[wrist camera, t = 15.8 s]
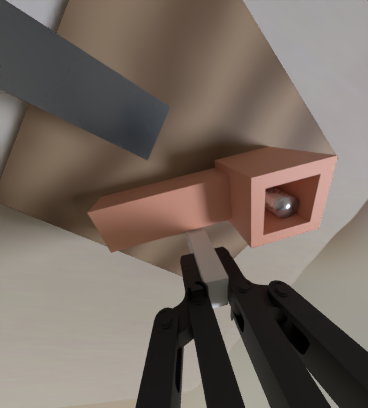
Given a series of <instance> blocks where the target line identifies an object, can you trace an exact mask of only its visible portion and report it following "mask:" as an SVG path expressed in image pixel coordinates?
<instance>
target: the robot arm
mask: <svg viewBox="0 0 368 408" xmlns="http://www.w3.org/2000/svg"><path fill="white" fill-rule="evenodd" d="M186 234H187V241H188V246H189V250H190V253H191V254H187V255H182V256H181V259H180V265H181V270H182V276H183V281H184V287H185V297H184V299H183V301H182V302H181V303H180V304H179V305H178V306H176V307H174V308H173V309H172V308H164V309H162V310H161V311H159V312H158V314H157V315H156V317H155V320H154V324H153V329H152V333H151V338H150V343H149V347H148V352H147V357H146V361H145V366H144V371H143V375H142V380H141V385H140V389H139V394H138V399H137V403H136V408H180V407H181V406H180V405H181V389H182V370H183V352H184V346H185V345H186V344H187V343H189V342H190V341H191V340H192V339H194V341H195V346H196V352H197V357H198V362H199V368H200V373H201V379H202V384H203V389H204V394H205V400H206V405H207V408H245V406H244V403H243V399H242V396H241V393H240V390H239V387H238V384H237V381H236V378H235V375H234V372H233V369H232V366H231V362H230V360H229V356H228V353H227V350H226V347H225V344H224V341H223V338H222V335H221V332H220V329H219V326H218V323H217V319H216V316H215V313H214V310H213V308H216V307H220V306H224V305H227V304H228V301H229V304H230V306H231V321H232V320H233V318H234V321H235V323H236V325H237V328H238V330H239V333H240V335H241V337H242V340H243V342H244V345H245V347H246V350H247V352H248V354H249V357H250V359H251V361H252V364H253V366H254V369H255V371H256V374H257V376H258V378H259V381H260V383H261V386H262V388H263V390H264V393H265V395H266V397H267V400H268V402H269V405H270V407H271V408H331V406H330V405H329V403H328V402H327V400H326V399H325V397H324V395H323V394H322V392H321V391H320V389H319V388H318V386H317V384H316V383H315V381H314V380H313V378H312V377H311V375H310V373H311V374H312V375H313V376H314V378H315V379H316V380H317V381H318V382H319V384H320V385H321V386H322V387H323V389H324V390H325V391H326V392H327V393H328V394H329V396H330V397H331V398H332V399H333V400H334V402H335V403H336V404H337V405H338V406H339V408H368V352H367V351H366V350H365V349H363V348H362V347H361V346H360V345H359V344H358V343H357V342H355V341H354V340H353V339H352V338H350V337H349V336H348V335H347V334H346V333H345V332H344V331H342V330H341V329H340V328H339V327H338V326H336V325H335V324H334V323H333V322H331V321H330V320H329V319H328V318H327V317H326V316H325V315H323V314H322V313H321V312H320V311H319V310H317V309H316V308H315V307H314V306H313V305H311V304H310V303H309V302H308V301H307V300H306V299H304V298H303V297H302V296H301V295H300V294H298V293H297V292H296V291H295V290H294V289H292V288H291V287H290V286H289V285H287V284H286V283H284V282H282V281H276V280H275V281H271V282H270V283H269V285H258V284H254V283H251V282H250V281H249V280H247V279H246V278H245V277H244V276H243V274H242V272H241V271H240V269H239V268H238V266H237V264H236V263H235V261H234V259H233V258H232V256H231V254H230V253H229V251H228V250H227V249H226V248H224V247H223V246H222V247H218V248H214V247H213V245H212V243H211V241H210V239H209V237H208V235H207V233H206V231H205V229H204V227H201V228H198V229H194V230H190V231H187V232H186ZM306 368H307V369H308V370H309V372H310V373H309V372H308V370H307V369H306Z"/></svg>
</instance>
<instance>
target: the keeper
mask: <svg viewBox="0 0 368 408" xmlns="http://www.w3.org/2000/svg"><path fill="white" fill-rule="evenodd" d="M0 89H1V90H3V91H5V92H7V93H9V94H11V95H13V96H15V97H17V98H20V99H22V100H24V101H26V102H28V103H30V104H32V105H34V106H36V107H38V108H40V109H42V110H44V111H46V112H48V113H51V114H53V115H55V116H57V117H59V118H61V119H63V120H65V121H67V122H69V123H71V124H73V125H75V126H77V127H79V128H82V129H84V130H86V131H88V132H90V133H92V134H94V135H96V136H98V137H100V138H102V139H104V140H106V141H108V142H110V143H113V144H115V145H117V146H119V147H121V148H123V149H125V150H127V151H129V152H131V153H133V154H135V155H137V156H139V157H141V158H144V159H146V160H148V159H149V156H150V154H151V152H152V149H153V147H154V145H155V142H156V140H157V138H158V135H159V133H160V130H161V128H162V126H163V123H164V121H165V119H166V116H167V114H168V112H169V109H170V106H168V105H167V104H165V103H163V102H162V101H160V100H159V99H157V98H156V97H154V96H153V95H151V94H150V93H148V92H146V91H145V90H143V89H142V88H140V87H139V86H137V85H136V84H134V83H133V82H131V81H129V80H128V79H126V78H125V77H123V76H122V75H120V74H119V73H117V72H116V71H114V70H112V69H111V68H109V67H108V66H106V65H105V64H103V63H102V62H100V61H98V60H97V59H95V58H94V57H92V56H91V55H89V54H88V53H86V52H85V51H83V50H81V49H80V48H78V47H77V46H75V45H74V44H72V43H71V42H69V41H68V40H66V39H64V38H63V37H61V36H60V35H58V34H57V33H55V32H54V31H52V30H51V29H49V28H47V27H46V26H44V25H43V24H41V23H40V22H38V21H37V20H35V19H34V18H32V17H30V16H29V15H27V14H26V13H24V12H23V11H21V10H20V9H18V8H16V7H15V6H13V5H12V4H10V3H9V2H7V1H6V0H0Z"/></svg>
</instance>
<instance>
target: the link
mask: <svg viewBox="0 0 368 408" xmlns="http://www.w3.org/2000/svg"><path fill="white" fill-rule="evenodd" d="M337 157H338V155H332V154H324V153H316V152H309V151H301V150H293V149H285V148H277V147H265V148H261V149H257V150H253V151H249V152H245V153H241V154H237V155H233V156H229V157H225V158H221V159H217V160H214V161H215V168H212V169H208V170H204V171H200V172H196V173H192V174H188V175H185V176H181V177H177V178H173V179H169V180H165V181H161V182H157V183H153V184H149V185H145V186H141V187H137V188H134V189H130V190H126V191H122V192H118V193H114V194H110V195H106V196H102V197H100V199H99V200H98V201H97V202H96V203H95V204H94V206H93V207H92V208H91V209H90V210H89V211H88V215H89V216H90V218H91V220H92V221H93V223H94V225H95V226H96V228H97V230H98V231H99V233H100V235H101V236H102V238H103V240H104V242H105V243H106V245H107V247H108V248H109V250H110V252H115V251H118V250H122V249H126V248H129V247H133V246H136V245H140V244H144V243H147V242H151V241H154V240H158V239H162V238H165V237H169V236H172V235H176V234H180V233H183V232H187V231H190V230H194V229H198V228H201V227H205V226H209V225H212V224H216V223H219V222H223V221H227V220H229V222H230V223H231V224H232V225H233V227H234V228H235V229H236V230H237V231H238V233H239V234H240V235H241V236H242V237H243V239H244V240H245V241H246V242H247V244H248V245H249V246H250V247H251V248H253V247H257V246H260V245H264V244H267V243H271V242H274V241H277V240H281V239H284V238H288V237H291V236H295V235H298V234H301V233H305V232H308V231H312V230H315V229H319V226H320V222H321V219H322V215H323V211H324V207H325V203H326V199H327V196H328V192H329V188H330V184H331V180H332V176H333V173H334V169H335V165H336V161H337ZM270 187H274V188H276V189H278V190H281V191H283V192H285V193H287V194H289V195H291V196H293V197H295V198H297V199H298V200H299V208H298V210H297V211H296V212H295V213H294V214H293V215H292V216H291V217H289V218H285V219H282V218H280V217H278V216H277V215H275V214H274V213H272V212H271V211H269V210H268V209H267V208H265V189H266V188H270Z"/></svg>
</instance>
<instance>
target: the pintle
mask: <svg viewBox="0 0 368 408" xmlns="http://www.w3.org/2000/svg"><path fill="white" fill-rule="evenodd" d="M265 208H267V209H268V210H269V211H271V212H272V213H274V214H275V215H277V216H278V217H280V218H282V219H285V218H289V217H291V216H292V215H293V214H294V213H295V212H296V211H297V210H298V208H299V200H298V199H297V198H295V197H293V196H291V195H289V194H287V193H285V192H283V191H281V190H278V189H276V188H274V187H270V188H266V189H265Z"/></svg>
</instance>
